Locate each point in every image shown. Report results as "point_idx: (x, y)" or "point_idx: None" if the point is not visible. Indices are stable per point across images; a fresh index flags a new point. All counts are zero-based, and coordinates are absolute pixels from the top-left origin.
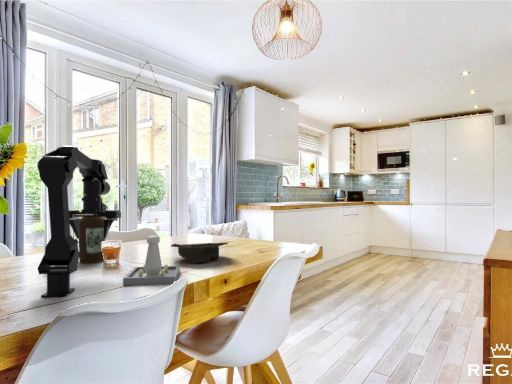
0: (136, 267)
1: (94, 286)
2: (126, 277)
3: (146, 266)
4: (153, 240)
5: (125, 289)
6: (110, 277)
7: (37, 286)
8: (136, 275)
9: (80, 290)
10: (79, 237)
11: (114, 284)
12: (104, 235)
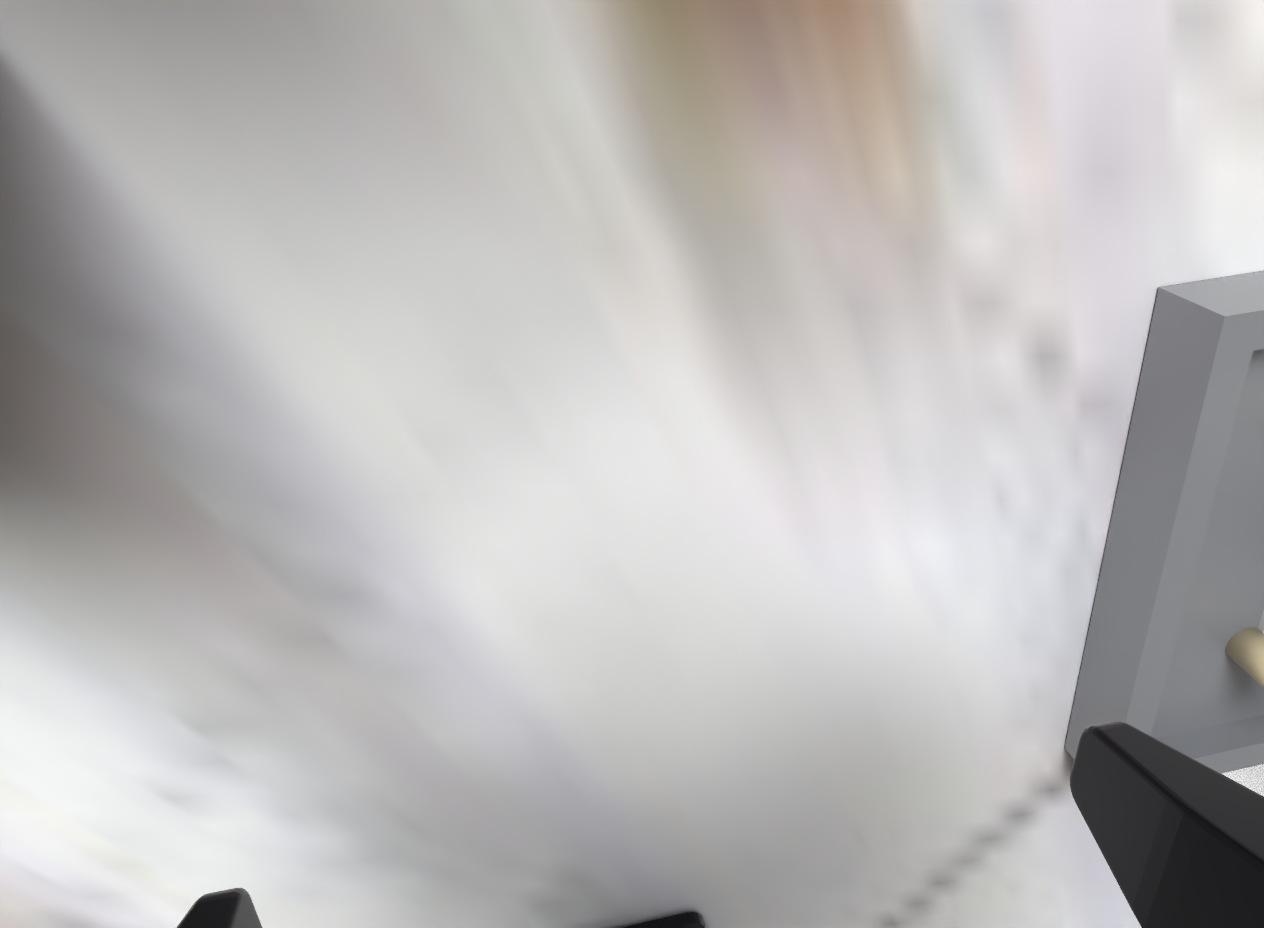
0: (1241, 353)
1: (822, 804)
2: None
3: None
4: None
5: None
6: (883, 518)
7: (245, 882)
8: (1204, 582)
9: (746, 899)
10: (242, 916)
11: (985, 735)
12: (1149, 891)
